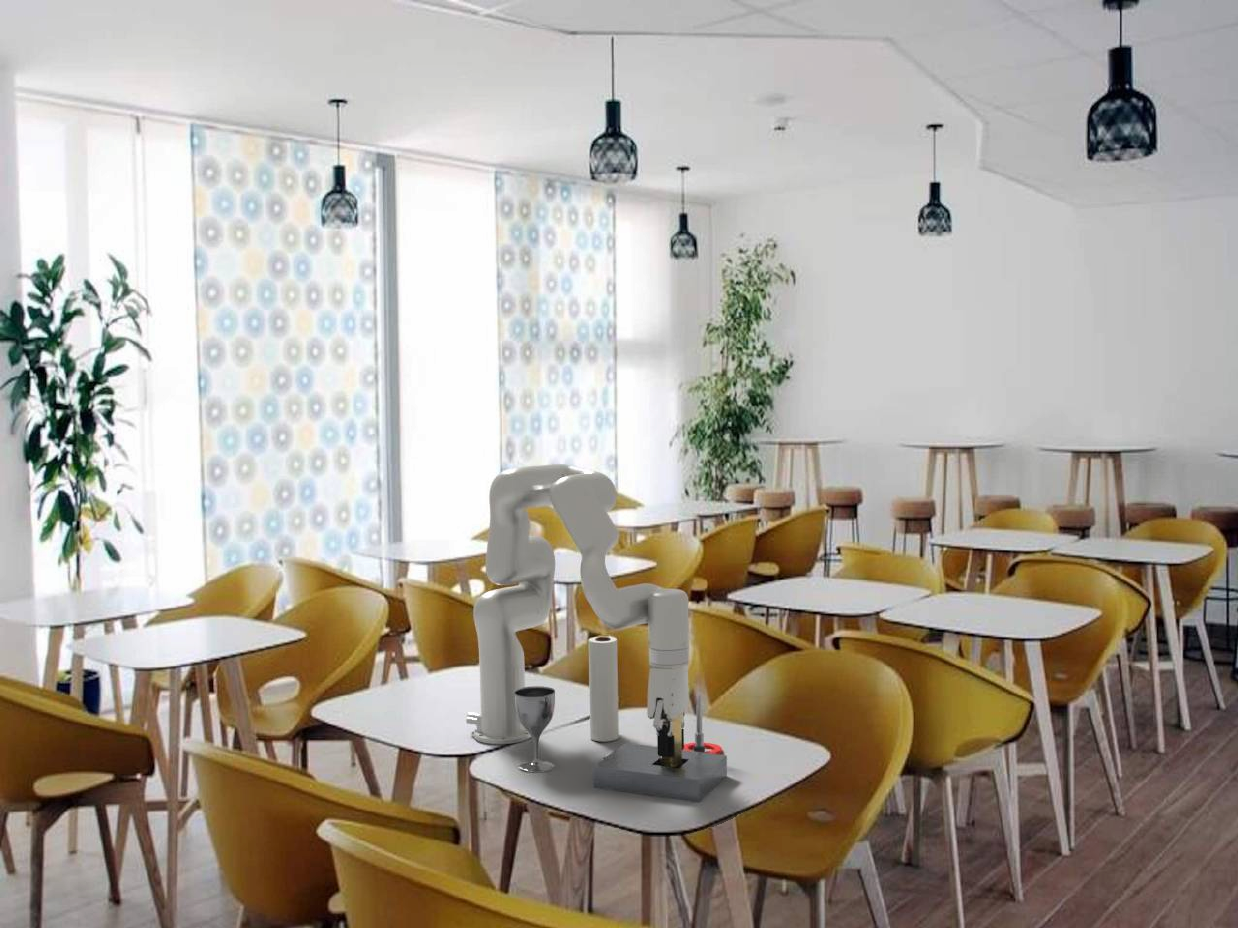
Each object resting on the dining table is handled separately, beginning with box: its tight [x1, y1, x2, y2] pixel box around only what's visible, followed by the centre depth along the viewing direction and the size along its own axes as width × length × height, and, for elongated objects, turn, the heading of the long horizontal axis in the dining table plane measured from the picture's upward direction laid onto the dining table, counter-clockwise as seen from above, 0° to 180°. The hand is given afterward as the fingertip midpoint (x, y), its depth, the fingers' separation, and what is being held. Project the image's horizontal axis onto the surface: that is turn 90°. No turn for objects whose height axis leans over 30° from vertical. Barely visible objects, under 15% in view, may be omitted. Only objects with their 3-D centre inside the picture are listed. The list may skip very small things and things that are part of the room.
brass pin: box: [661, 714, 682, 767], centre depth 220 cm, size 4×4×11 cm
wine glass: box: [515, 685, 556, 774], centre depth 231 cm, size 8×8×15 cm
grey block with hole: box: [592, 742, 728, 803], centre depth 222 cm, size 21×15×4 cm
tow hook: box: [683, 693, 723, 755], centre depth 239 cm, size 8×13×9 cm
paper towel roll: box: [588, 634, 620, 743], centre depth 249 cm, size 7×6×21 cm
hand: (670, 751), depth 221 cm, fingers closed on brass pin, 3 cm apart
